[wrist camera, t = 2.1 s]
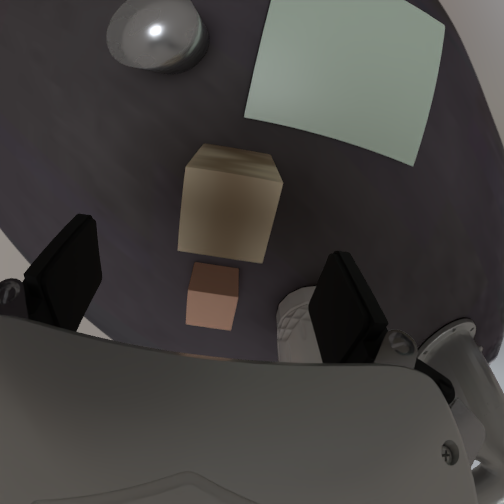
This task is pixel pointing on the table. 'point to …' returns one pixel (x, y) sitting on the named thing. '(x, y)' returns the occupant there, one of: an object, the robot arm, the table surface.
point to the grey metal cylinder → (158, 35)
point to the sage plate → (349, 71)
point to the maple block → (229, 203)
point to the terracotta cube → (212, 296)
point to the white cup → (296, 329)
